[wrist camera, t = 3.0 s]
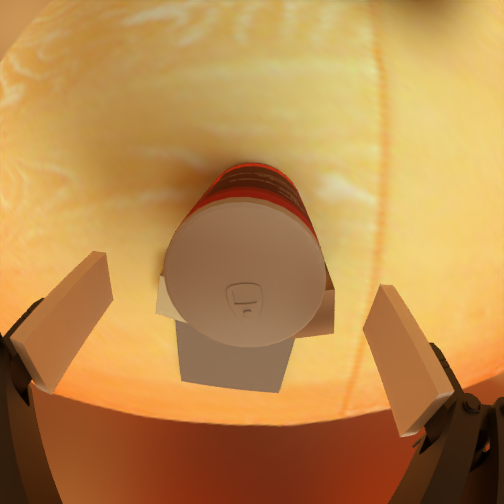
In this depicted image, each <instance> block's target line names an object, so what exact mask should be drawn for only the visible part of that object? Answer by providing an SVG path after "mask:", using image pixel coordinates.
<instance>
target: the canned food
mask: <svg viewBox="0 0 504 504" xmlns="http://www.w3.org/2000/svg"><path fill="white" fill-rule="evenodd" d="M164 280H165V285H166V289H167V293H168V295H169V297H170V300H171V302H172V304H173V306H174V307H175V309H176V310H177V311H178V313H179V314H180V316H181V317H182V318H183V319H184V320H185V321H186V322H187V323H188V324H189V325H190V326H191V327H193V328H194V329H195V330H197V331H198V332H200V333H201V334H203V335H204V336H206V337H208V338H210V339H212V340H214V341H217V342H220V343H224V344H227V345H232V346H238V347H261V346H268V345H271V344H275V343H278V342H281V341H283V340H285V339H287V338H289V337H291V336H293V335H295V334H296V333H297V332H299V331H300V330H301V329H303V328H304V327H305V326H306V325H307V324H308V323H309V322H310V321H311V319H312V318H313V317H314V316H315V314H316V312H317V311H318V309H319V307H320V306H321V303H322V300H323V297H324V294H325V287H326V270H325V262H324V256H323V253H322V251H321V247H320V244H319V241H318V239H317V236H316V233H315V231H314V228H313V226H312V223H311V221H310V219H309V216H308V214H307V211H306V209H305V207H304V204H303V202H302V200H301V197H300V195H299V193H298V190H297V189H296V187H295V186H294V184H293V183H292V181H291V180H290V179H289V178H288V177H287V176H286V175H285V174H283V173H282V172H280V171H279V170H277V169H275V168H273V167H270V166H268V165H264V164H258V163H246V164H241V165H237V166H235V167H233V168H230V169H228V170H227V171H225V172H224V173H223V174H221V175H220V176H219V177H218V178H217V179H216V181H215V182H214V183H213V184H212V185H211V187H210V188H209V189H208V190H207V191H206V193H205V194H204V195H203V196H202V197H201V199H200V200H199V201H198V202H197V204H196V205H195V206H194V207H193V209H192V210H191V211H190V212H189V214H188V215H187V216H186V217H185V219H184V220H183V221H182V223H181V225H180V226H179V227H178V229H177V230H176V231H175V233H174V236H173V238H172V240H171V242H170V244H169V247H168V249H167V252H166V257H165V261H164Z"/></svg>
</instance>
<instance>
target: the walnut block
mask: <svg viewBox="0 0 504 504" xmlns="http://www.w3.org/2000/svg"><path fill="white" fill-rule="evenodd" d="M324 262H325V261H324ZM325 270H326V287H325V294H324V297H323V300H322V303H321V306H320V307H319V309H318V311H317V312H316V314H315V316H314V317H313V318H312V319H311V321H310V322H309V323H308V324H307V325H306V326H305V327H304V328H303V329H301V330H300V331H299V332H297V333H296V334H295V335H293V336H291V337H289V338H287V339H293V338H302V337H310V336H318V335H326V334H333V333H334V305H335V289H334V286H333V283H332V280H331V278H330V275H329V272H328V269H327V266H326V264H325Z"/></svg>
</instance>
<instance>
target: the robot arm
mask: <svg viewBox="0 0 504 504" xmlns="http://www.w3.org/2000/svg"><path fill="white" fill-rule="evenodd" d="M112 301H113V295H112V290H111V284H110V278H109V271H108V265H107V257H106V253H103V252H96V251H93V252H92V253H91V254H90V255H88V256H87V257H86V258H85V259H84V260H83V261H82V262H81V263H80V264H79V265H78V266H77V267H76V268H75V269H74V270H73V271H71V272H70V273H69V274H68V275H67V276H66V277H65V278H64V279H63V280H62V281H61V282H60V283H59V284H58V285H57V286H56V287H55V288H54V289H53V290H52V291H51V292H50V293H49V294H48V296H47V297H46V298H41V299H40V300H38V301H36V302H35V303H33V304H32V305H31V306H30V307H29V309H28V310H27V312H25V313H24V314H23V315H22V316H21V318H19V319H18V321H17V322H16V323H15V324H14V325H13V326H12V327H11V328H10V330H9V331H8V332H7V333H6V334H5V335H4V337H2V335H1V333H0V504H63V503H62V501H61V498H60V496H59V493H58V490H57V488H56V485H55V482H54V480H53V477H52V474H51V471H50V468H49V465H48V462H47V458H46V455H45V451H44V448H43V444H42V440H41V436H40V432H39V428H38V423H37V419H36V413H35V408H34V402H33V396H32V390H31V387H30V385H29V383H30V382H31V380H33V381H34V383H35V385H36V386H37V388H38V389H40V390H42V391H44V392H46V393H49V394H51V395H52V394H53V392H54V390H55V388H56V387H57V385H58V383H59V382H60V380H61V378H62V377H63V375H64V373H65V372H66V370H67V368H68V367H69V365H70V364H71V362H72V360H73V359H74V357H75V356H76V354H77V352H78V351H79V349H80V348H81V346H82V345H83V343H84V342H85V340H86V339H87V337H88V336H89V334H90V333H91V331H92V330H93V328H94V327H95V325H96V324H97V322H98V321H99V319H100V318H101V317H102V315H103V314H104V312H105V311H106V309H107V308H108V307H109V305H110V304H111V302H112ZM363 331H364V333H365V336H366V339H367V341H368V344H369V346H370V349H371V352H372V354H373V357H374V360H375V363H376V365H377V368H378V371H379V374H380V376H381V379H382V382H383V385H384V388H385V391H386V394H387V397H388V400H389V403H390V406H391V409H392V412H393V415H394V418H395V422H396V425H397V428H398V432H399V435H400V437H404V436H410V435H414V434H416V433H417V432H418V431H419V430H420V429H421V428H422V427H423V426H424V427H425V430H426V433H425V434H424V435H423V436H422V437H421V438H419V439H418V441H416V442H415V443H414V445H413V447H415V446H416V445H418V444H419V445H418V447H417V450H416V452H415V454H414V456H413V458H412V460H411V462H410V465H409V466H408V468H407V470H406V472H405V475H404V477H403V478H402V480H401V482H400V484H399V486H398V487H397V489H396V491H395V493H394V494H393V496H392V498H391V500H390V501H389V503H388V504H504V397H500V398H498V399H497V400H496V402H494V404H493V405H483V404H481V402H480V401H479V400H478V398H477V397H475V396H474V395H473V394H470V393H464V392H463V390H462V388H461V386H460V384H459V382H458V380H457V379H456V377H455V375H454V373H453V371H452V369H451V368H450V366H449V364H448V362H447V361H446V359H445V357H444V355H443V353H442V352H441V350H440V349H439V348H438V347H437V346H436V345H435V344H434V343H429V342H428V341H427V339H426V337H425V335H424V334H423V332H422V330H421V329H420V327H419V325H418V324H417V322H416V320H415V319H414V317H413V316H412V314H411V312H410V311H409V309H408V308H407V306H406V304H405V303H404V301H403V300H402V298H401V297H400V295H399V294H398V292H397V290H396V289H395V287H394V286H392V285H381V284H380V286H379V289H378V291H377V294H376V297H375V299H374V302H373V305H372V307H371V310H370V312H369V315H368V317H367V320H366V322H365V325H364V327H363ZM489 443H490V449H489V450H488V451H486V449H485V446H487V445H488V444H489Z"/></svg>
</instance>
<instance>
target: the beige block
mask: <svg viewBox="0 0 504 504" xmlns="http://www.w3.org/2000/svg"><path fill="white" fill-rule="evenodd" d="M156 314H159V315H162V316H165V317H168V318H172V319H175V320H178V321H181V322H185V323H187V322H186V321H185V320H184V319H183V318H182V317H181V316H180V314H179V313H178V311H177V310H176V309H175V307H174V306H173V304H172V302H171V300H170V297H169V295H168V293H167V289H166V285H165V280H164V270H163V271H162V273H161V275H160V279H159V287H158V295H157V304H156Z"/></svg>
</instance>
